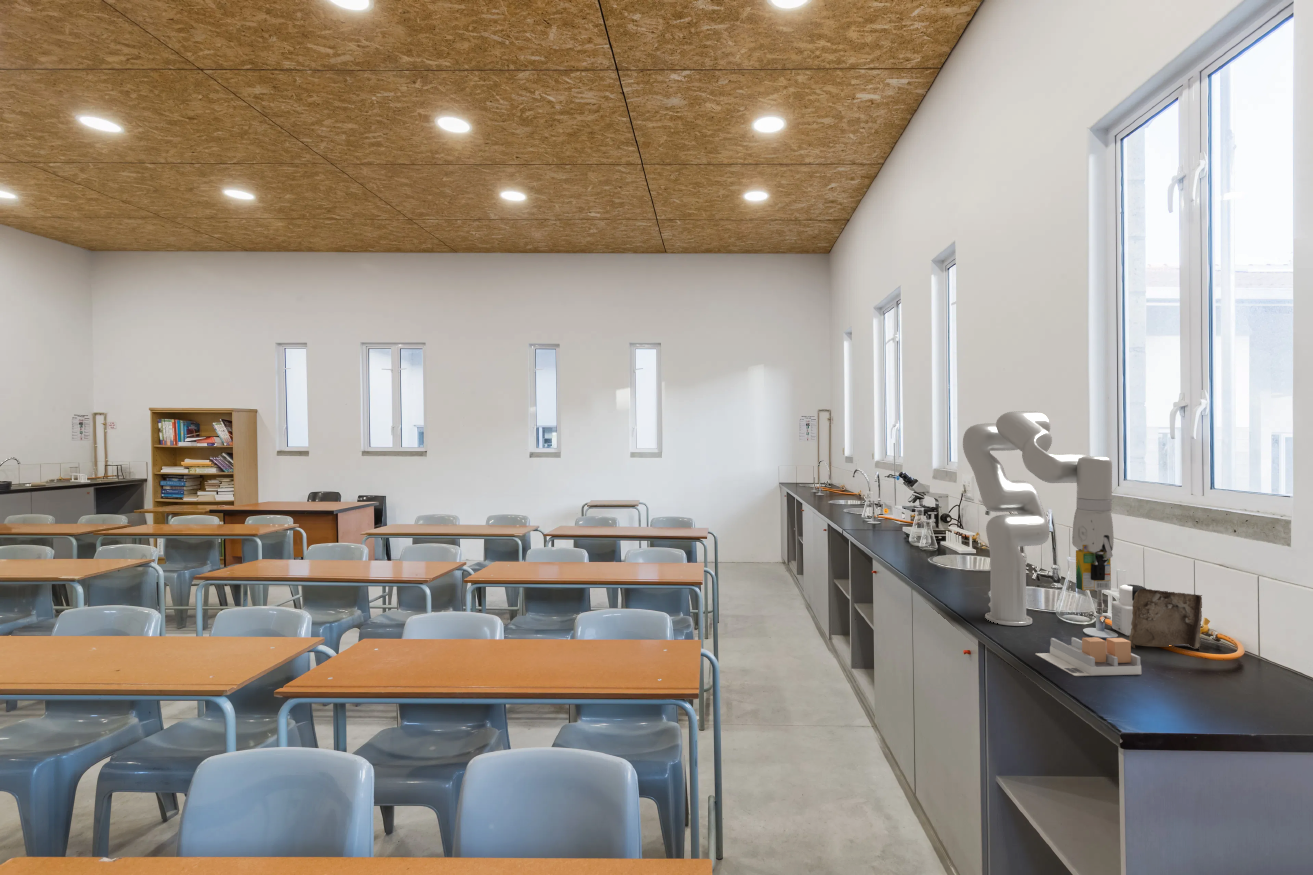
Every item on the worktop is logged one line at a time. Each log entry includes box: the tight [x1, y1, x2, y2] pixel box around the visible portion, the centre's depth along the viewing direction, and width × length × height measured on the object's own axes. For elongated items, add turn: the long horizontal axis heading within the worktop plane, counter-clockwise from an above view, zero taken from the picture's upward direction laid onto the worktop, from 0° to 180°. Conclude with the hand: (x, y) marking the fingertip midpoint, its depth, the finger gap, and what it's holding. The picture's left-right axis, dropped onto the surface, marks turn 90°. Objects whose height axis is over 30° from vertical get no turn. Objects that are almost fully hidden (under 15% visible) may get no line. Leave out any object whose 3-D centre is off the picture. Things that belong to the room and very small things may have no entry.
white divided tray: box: [1035, 637, 1142, 677], centre depth 172 cm, size 16×16×4 cm
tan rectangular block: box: [1081, 636, 1106, 662], centre depth 168 cm, size 3×4×5 cm
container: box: [1111, 583, 1147, 637], centre depth 198 cm, size 8×8×13 cm
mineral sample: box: [1127, 588, 1203, 649], centre depth 184 cm, size 17×4×15 cm, turn 81°
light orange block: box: [1105, 637, 1132, 663], centre depth 167 cm, size 3×4×5 cm
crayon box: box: [1075, 545, 1112, 592], centre depth 178 cm, size 7×3×12 cm, turn 91°
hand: (1093, 577), depth 178 cm, fingers closed on crayon box, 3 cm apart
